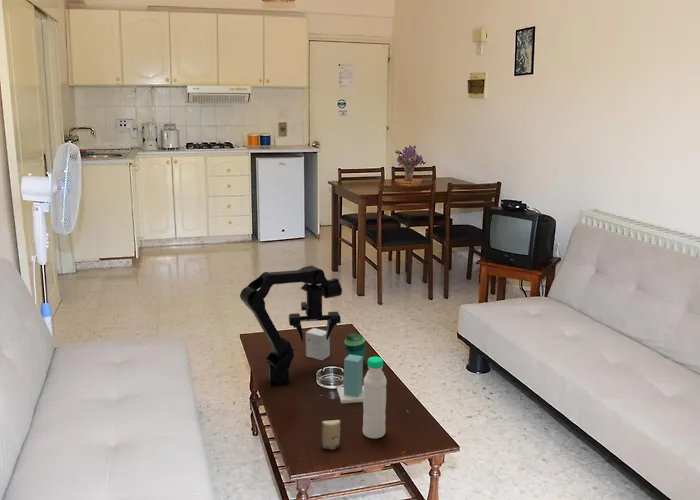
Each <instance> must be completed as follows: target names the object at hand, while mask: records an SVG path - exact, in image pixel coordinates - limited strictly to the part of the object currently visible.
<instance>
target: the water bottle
mask: <svg viewBox="0 0 700 500" xmlns="http://www.w3.org/2000/svg"><path fill="white" fill-rule="evenodd" d="M383 367H384V359H383V358H381V357H379V356H371V357H369V358H368V359H367V368H368V370H367V372H366V374H365V376H364V377H363V385H364V392H363V402H362V405H363V412H362V413H363V414H362V416H363V417H362V420H363V421H362V423H363V424H362V433H363V435H364V436H365V437H367V438H369V439H373V440H375V439H379V438H380V439H381V438H382V437H384V435H385V434H386V414H387V413H386V408H387V377H386V376H385V373H384V371H383Z"/></svg>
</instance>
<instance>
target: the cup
mask: <svg viewBox="0 0 700 500" xmlns="http://www.w3.org/2000/svg"><path fill="white" fill-rule="evenodd" d="M343 343H344V345H345V350H346V357H347V356H348V355H349V354H351V355H358V356H363V367H364V366H365V365H366V345H365V344H366V338H365V337H364V336H363V335H362V334H360V333H349V334H347V335H346V337H345V339H344V341H343Z"/></svg>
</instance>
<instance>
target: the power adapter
mask: <svg viewBox="0 0 700 500" xmlns="http://www.w3.org/2000/svg"><path fill="white" fill-rule="evenodd" d="M341 421H342V420H340V419H334V420H332V419H331V420H323V421H321V447H322V449H326V450H336V449H337V448H339V447H340V442H341V441H340V440H341V439H340V438H341V423H342V422H341Z"/></svg>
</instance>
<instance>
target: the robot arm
mask: <svg viewBox="0 0 700 500" xmlns="http://www.w3.org/2000/svg"><path fill="white" fill-rule="evenodd" d="M339 281H340V280H339V278H336V277H334V278H332V279H327V277H326V276H325V271H323V269H321V268H319V267H317V266H314V265H307V266H303V267H301V268H299V269H297V270H295V269H294V270H285V271H284V270H283V271H282V270H281V271H264V272H262V273H261V274H260V275H259V276H258V277H257V278H255V279H254V280H251V282H249V284H247V286H245V287H244V288H243V289H242V290H241V291H240V293H239V298H240V300H241V301H242V302H243V303H244V305H245V306H246V307H248V309H249V310H250V311H251V313H252V314H253V315H254V317H255V318H256V321H257V322H258V324H259V325H260V328H261V330H262V331H263V333H264V335H265V336H266V338H267V340H268V342H269V349H270V353H269V354H268V356H266V358H265V361H266V363H267V364H268V365H269V367H268V368H269V376H268V379H269V386H272V387H274V386H287V385H288V384H289V381H290V374H289V373H290V367H291V364H292V361H293V359H294V357H295V353H294V351H295V349H293V346H292V344H291V342H290V340H288V339H286V338H285V337H283V336H281V335H280V333H279V332H278V331H279V330H278V329H277V328H276V326H275V324H274V322H273V320H272V319H271V317H270V315H269V314H268V312H267V309H266V301H265V298H266V297H267V295H268V294H269V292H270V290H271V288H272V287H273V285H282V284H293V283H294V284H296V283H304V284H303V285H302V286H301V287H300V289H301V290H303V291H305V292H306V301H301V302H300V311H301V312H302V311H305V315H301V314H300V312H299V313H290V314H288V323H289V326H291V327H293V329H296V330H297V332H298V334H299V337H300V340H301V342H303V341H304V336H303V335H304V334H303V329H302V328H303V327H302V324H301V323H302V322H318V321H319V322H320V321H326V325H327V326H326V331H327V332H326V340H328V338H329V339H330V336H331V333H332V331H333V329H334V327H335V326H338V324H341V319H342V318H341V315H340V313H339V311H328V312H327V314H324V315H323V298H325V299H331V298H335V297H341V295H342V293H343V288H342V286H341V283H340V282H339Z"/></svg>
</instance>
